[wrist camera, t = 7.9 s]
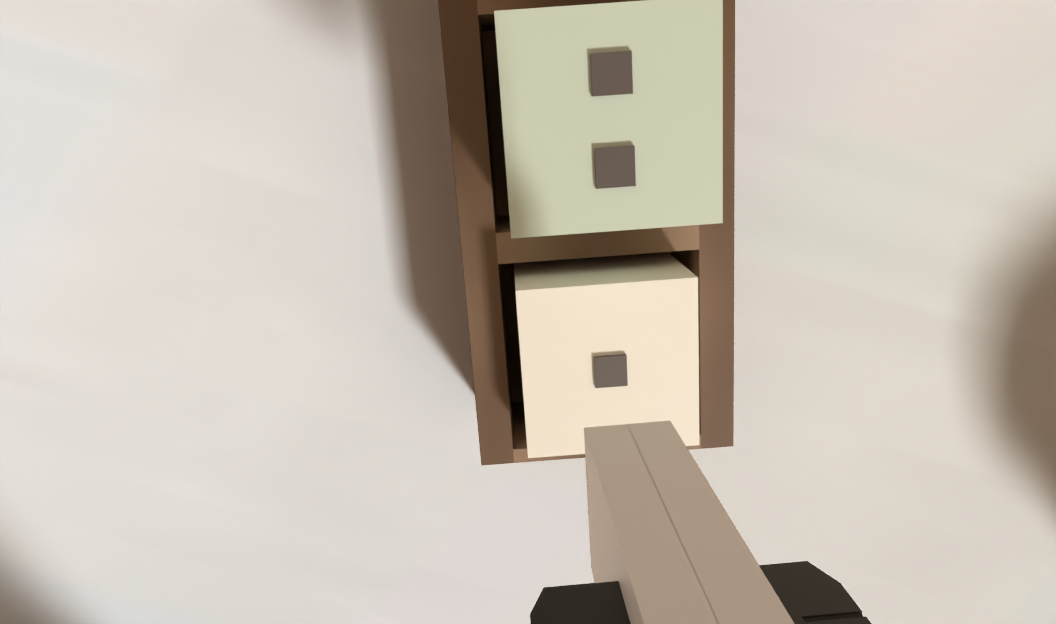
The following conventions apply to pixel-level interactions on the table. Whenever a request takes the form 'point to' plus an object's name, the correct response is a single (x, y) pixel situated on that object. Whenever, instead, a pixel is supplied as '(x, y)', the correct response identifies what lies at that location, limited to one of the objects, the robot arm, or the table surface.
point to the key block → (563, 238)
